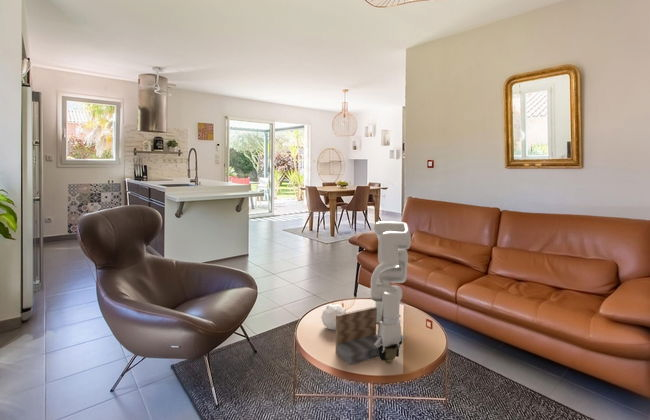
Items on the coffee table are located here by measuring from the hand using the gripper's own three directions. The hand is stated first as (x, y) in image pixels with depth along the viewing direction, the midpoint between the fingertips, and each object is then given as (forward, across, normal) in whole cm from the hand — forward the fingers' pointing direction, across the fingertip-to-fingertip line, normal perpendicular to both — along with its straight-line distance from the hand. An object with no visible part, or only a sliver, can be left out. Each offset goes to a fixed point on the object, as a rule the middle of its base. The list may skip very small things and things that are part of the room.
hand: (389, 357), depth 160 cm
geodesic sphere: (+2, +5, -40) cm, 40 cm away
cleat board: (+2, +6, -12) cm, 13 cm away
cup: (+2, 0, 0) cm, 2 cm away
